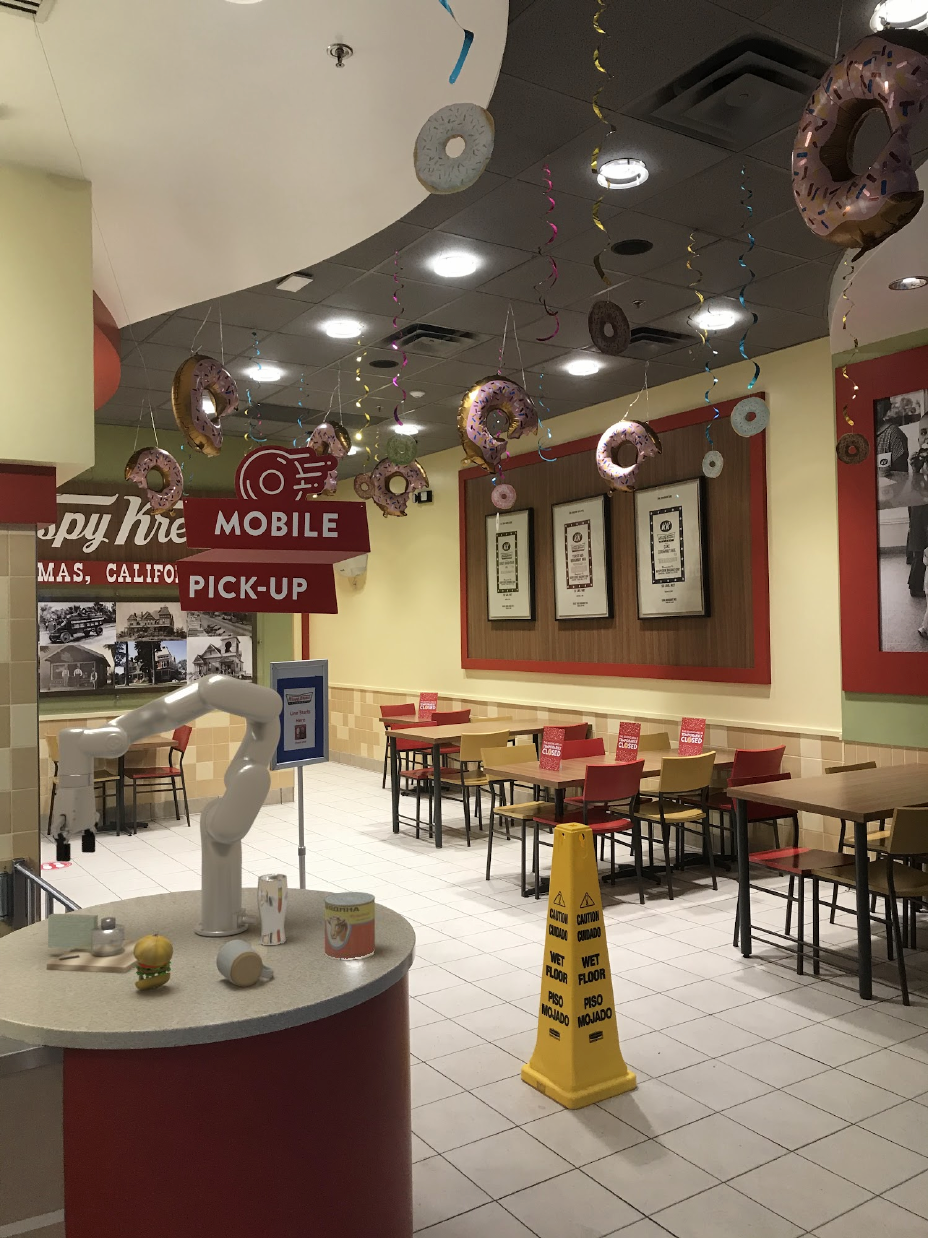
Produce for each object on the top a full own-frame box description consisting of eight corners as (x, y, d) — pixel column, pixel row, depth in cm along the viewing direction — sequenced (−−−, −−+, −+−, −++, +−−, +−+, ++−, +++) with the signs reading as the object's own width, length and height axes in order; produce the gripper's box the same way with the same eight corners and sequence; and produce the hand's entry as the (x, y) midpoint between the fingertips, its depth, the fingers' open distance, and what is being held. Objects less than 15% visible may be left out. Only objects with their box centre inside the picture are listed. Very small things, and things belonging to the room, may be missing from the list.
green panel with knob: (131, 947, 212) (131, 913, 213) (114, 956, 205) (114, 921, 206) (59, 944, 215) (59, 910, 215) (40, 953, 208) (41, 918, 208)
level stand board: (165, 947, 217) (165, 940, 217) (125, 973, 199) (125, 966, 199) (92, 944, 220) (92, 937, 220) (46, 969, 202) (46, 962, 202)
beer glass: (280, 947, 216) (280, 881, 216) (252, 946, 217) (252, 879, 218) (292, 938, 223) (292, 874, 223) (264, 937, 224) (264, 873, 225)
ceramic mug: (230, 991, 187) (231, 952, 188) (215, 980, 194) (216, 942, 194) (280, 982, 193) (280, 943, 194) (264, 971, 200) (264, 934, 200)
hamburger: (162, 981, 194) (163, 922, 194) (180, 990, 188) (180, 929, 189) (126, 991, 188) (126, 929, 189) (143, 1000, 183) (143, 937, 184)
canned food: (314, 956, 209) (314, 901, 210) (342, 942, 219) (342, 890, 220) (358, 963, 204) (357, 907, 205) (384, 948, 214) (384, 895, 215)
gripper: (83, 776, 227) (83, 848, 226) (37, 786, 210) (37, 864, 209) (111, 776, 225) (112, 849, 225) (68, 786, 208) (68, 865, 208)
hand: (76, 856), depth 217 cm, fingers open, 9 cm apart
